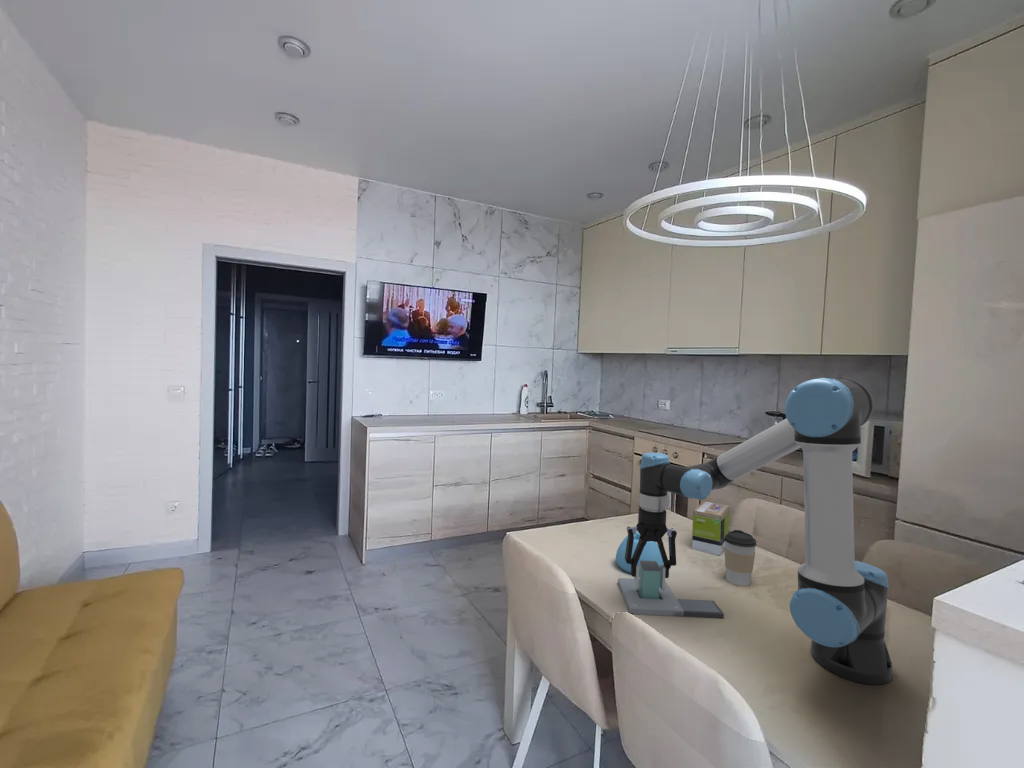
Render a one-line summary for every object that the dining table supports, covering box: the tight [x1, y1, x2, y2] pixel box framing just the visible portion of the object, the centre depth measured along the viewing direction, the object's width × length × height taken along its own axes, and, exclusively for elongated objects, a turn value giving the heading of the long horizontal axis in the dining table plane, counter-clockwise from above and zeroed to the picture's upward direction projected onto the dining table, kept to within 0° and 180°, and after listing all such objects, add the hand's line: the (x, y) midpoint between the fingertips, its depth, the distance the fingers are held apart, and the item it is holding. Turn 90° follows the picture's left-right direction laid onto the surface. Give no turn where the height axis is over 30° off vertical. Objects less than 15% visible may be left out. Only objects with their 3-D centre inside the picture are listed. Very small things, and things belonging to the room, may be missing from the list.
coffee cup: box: [724, 529, 757, 587], centre depth 149 cm, size 9×9×15 cm
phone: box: [674, 598, 725, 619], centre depth 131 cm, size 7×13×1 cm, turn 88°
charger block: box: [638, 560, 660, 599], centre depth 136 cm, size 4×4×10 cm
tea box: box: [691, 500, 731, 556], centre depth 177 cm, size 15×10×15 cm, turn 144°
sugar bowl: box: [615, 531, 664, 576], centre depth 157 cm, size 15×15×12 cm
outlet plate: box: [617, 577, 684, 617], centre depth 136 cm, size 18×14×2 cm
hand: (649, 587), depth 136 cm, fingers open, 7 cm apart
